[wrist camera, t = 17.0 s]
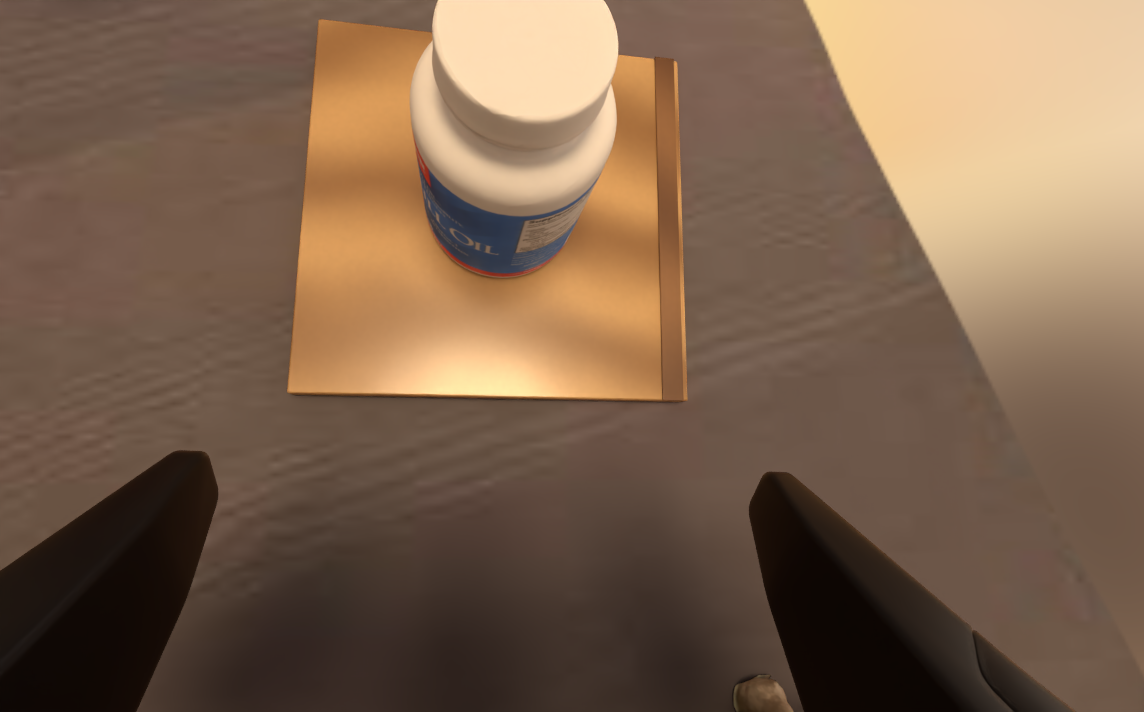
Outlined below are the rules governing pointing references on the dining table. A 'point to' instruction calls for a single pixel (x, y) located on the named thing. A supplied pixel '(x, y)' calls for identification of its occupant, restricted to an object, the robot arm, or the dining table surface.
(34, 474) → the dining table surface
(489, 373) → the tan flat square slab
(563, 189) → the pill bottle
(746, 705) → the rhinoceros figurine
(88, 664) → the robot arm
